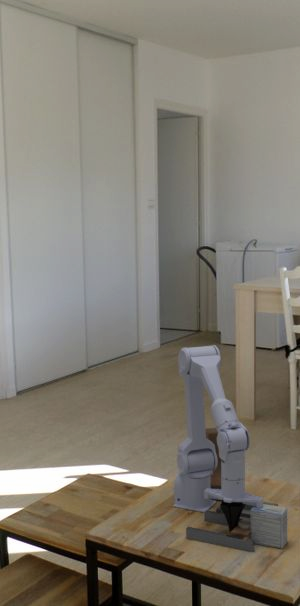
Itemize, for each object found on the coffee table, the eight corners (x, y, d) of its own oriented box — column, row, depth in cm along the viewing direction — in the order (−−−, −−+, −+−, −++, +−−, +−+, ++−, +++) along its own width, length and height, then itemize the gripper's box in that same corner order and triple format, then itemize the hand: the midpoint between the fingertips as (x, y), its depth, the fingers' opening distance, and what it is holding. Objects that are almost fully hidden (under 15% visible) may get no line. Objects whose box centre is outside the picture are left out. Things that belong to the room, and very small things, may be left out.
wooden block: (227, 500, 205) (227, 436, 203) (211, 501, 205) (211, 437, 203) (221, 488, 214) (220, 427, 212) (205, 489, 214) (205, 428, 212)
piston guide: (186, 538, 182) (185, 527, 182) (206, 519, 193) (206, 509, 193) (252, 552, 174) (252, 541, 174) (269, 531, 185) (269, 520, 185)
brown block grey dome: (231, 543, 178) (231, 527, 178) (244, 529, 186) (244, 514, 186) (247, 546, 177) (247, 530, 176) (259, 532, 184) (259, 517, 184)
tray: (216, 519, 193) (216, 508, 192) (229, 506, 201) (229, 495, 201) (266, 528, 187) (266, 517, 186) (278, 515, 195) (278, 504, 194)
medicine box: (287, 542, 179) (288, 507, 178) (282, 549, 175) (282, 514, 174) (256, 536, 183) (256, 502, 182) (250, 543, 179) (250, 508, 178)
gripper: (198, 477, 181) (199, 531, 183) (256, 486, 174) (255, 542, 176) (210, 468, 187) (210, 520, 189) (265, 477, 180) (265, 530, 182)
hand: (233, 530), depth 183 cm, fingers closed
